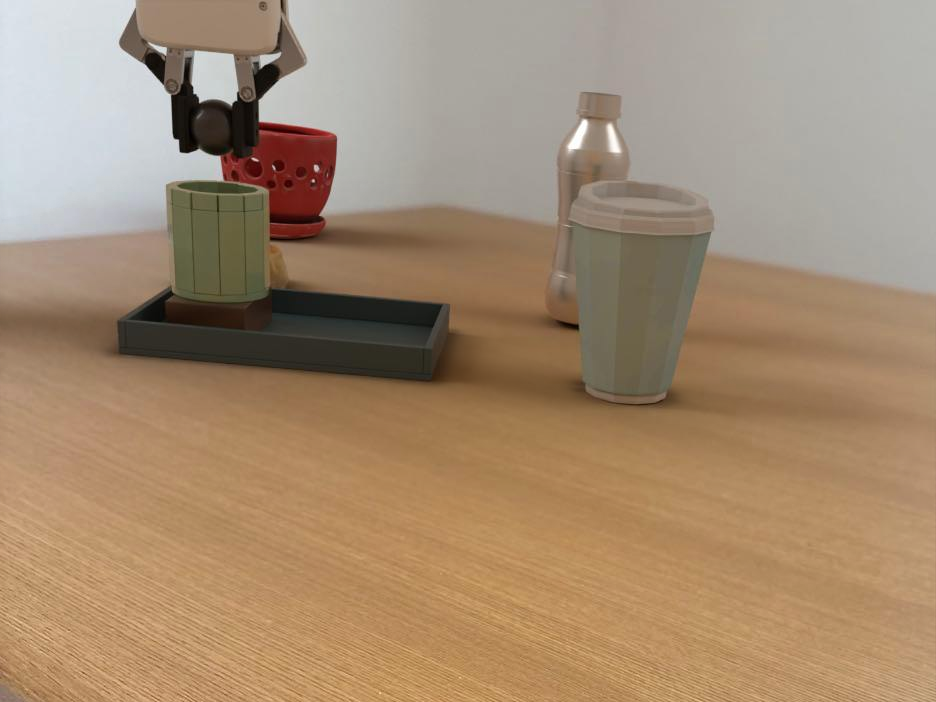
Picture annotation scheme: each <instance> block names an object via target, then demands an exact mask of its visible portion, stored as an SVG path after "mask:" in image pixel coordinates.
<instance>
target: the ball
mask: <svg viewBox="0 0 936 702" xmlns="http://www.w3.org/2000/svg"><path fill="white" fill-rule="evenodd" d="M190 135H191V139H192V141H193V142H194V144H195V145H196V146H197V147H198V148H199V149H198V150H200V151H202V152H203V153H205V154H207V155H209V156H214V157H220V156H224V155H227V154H230V153H231V152H233V127H232V105H231V104H230V103H228V102H227V101H224V100H222V99H216V98H210V99H206V100H203V101H200V102H199V104H198V105H196V106H195V107H194V109H193V110H192V112H191V115H190Z"/></svg>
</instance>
